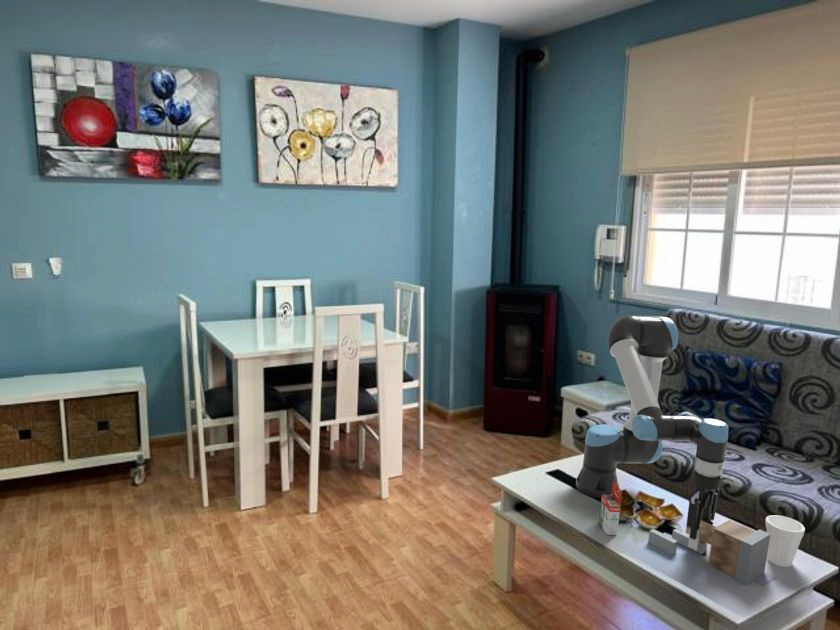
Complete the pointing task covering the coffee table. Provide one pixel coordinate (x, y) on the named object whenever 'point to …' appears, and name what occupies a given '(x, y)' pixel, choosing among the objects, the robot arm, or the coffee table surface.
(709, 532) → the bar
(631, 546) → the coffee table surface
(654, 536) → the pedestal
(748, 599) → the coffee table surface
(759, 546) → the base
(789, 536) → the cup
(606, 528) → the ink box
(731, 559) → the block
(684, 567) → the coffee table surface
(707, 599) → the coffee table surface
